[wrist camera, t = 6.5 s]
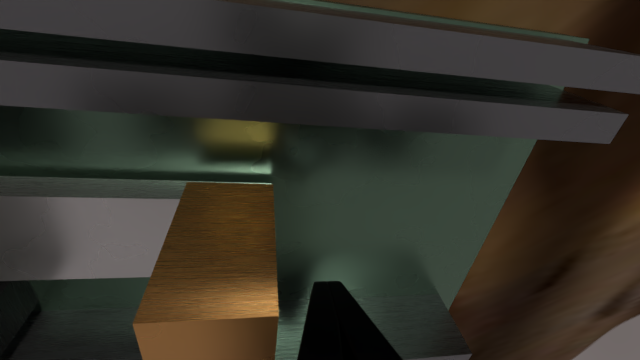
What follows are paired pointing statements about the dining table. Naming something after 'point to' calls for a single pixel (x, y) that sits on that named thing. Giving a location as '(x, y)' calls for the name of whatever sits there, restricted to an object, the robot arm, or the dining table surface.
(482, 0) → the dining table surface
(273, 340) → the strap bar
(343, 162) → the green plate fixture
